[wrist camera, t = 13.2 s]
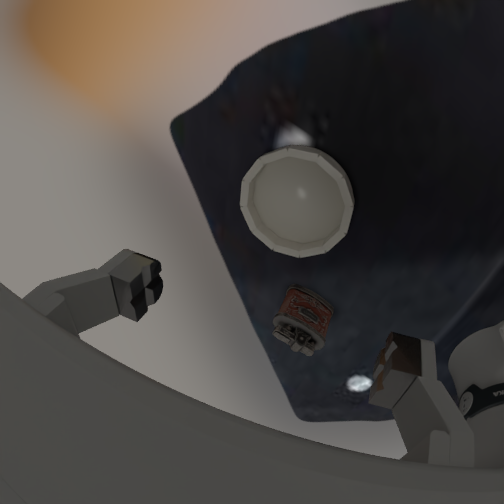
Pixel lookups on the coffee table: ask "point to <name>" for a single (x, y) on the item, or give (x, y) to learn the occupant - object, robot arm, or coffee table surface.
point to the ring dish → (297, 200)
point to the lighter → (303, 320)
